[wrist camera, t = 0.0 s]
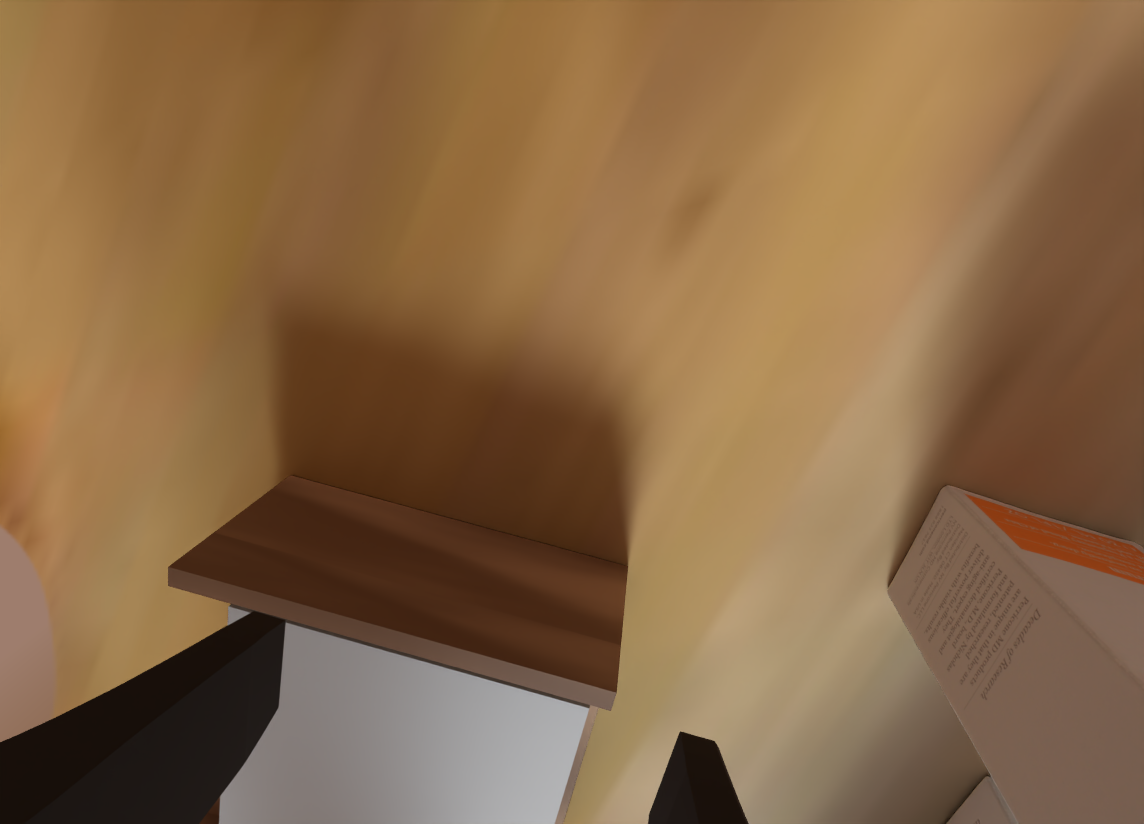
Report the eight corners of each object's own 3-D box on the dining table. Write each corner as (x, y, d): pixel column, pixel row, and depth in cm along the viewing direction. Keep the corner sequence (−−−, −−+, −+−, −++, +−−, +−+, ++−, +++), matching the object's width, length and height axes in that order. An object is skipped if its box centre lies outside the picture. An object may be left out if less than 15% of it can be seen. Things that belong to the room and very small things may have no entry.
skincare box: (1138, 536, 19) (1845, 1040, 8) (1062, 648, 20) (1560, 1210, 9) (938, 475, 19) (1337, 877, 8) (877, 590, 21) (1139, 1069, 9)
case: (553, 816, 25) (523, 985, 20) (270, 733, 26) (167, 875, 21) (628, 566, 21) (616, 692, 16) (290, 475, 22) (168, 567, 17)
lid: (526, 900, 21) (516, 949, 20) (246, 816, 22) (217, 858, 21) (595, 668, 18) (589, 708, 17) (261, 575, 19) (228, 606, 17)
